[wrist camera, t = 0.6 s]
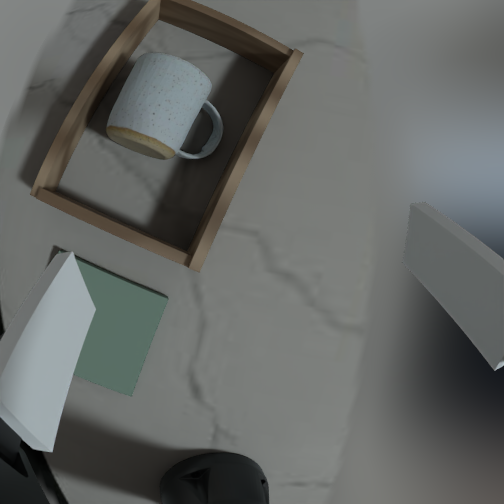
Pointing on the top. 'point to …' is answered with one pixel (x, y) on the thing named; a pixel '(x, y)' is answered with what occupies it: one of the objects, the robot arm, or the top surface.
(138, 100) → the ceramic mug
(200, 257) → the open wooden box frame
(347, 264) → the top surface
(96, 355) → the rubber mat
